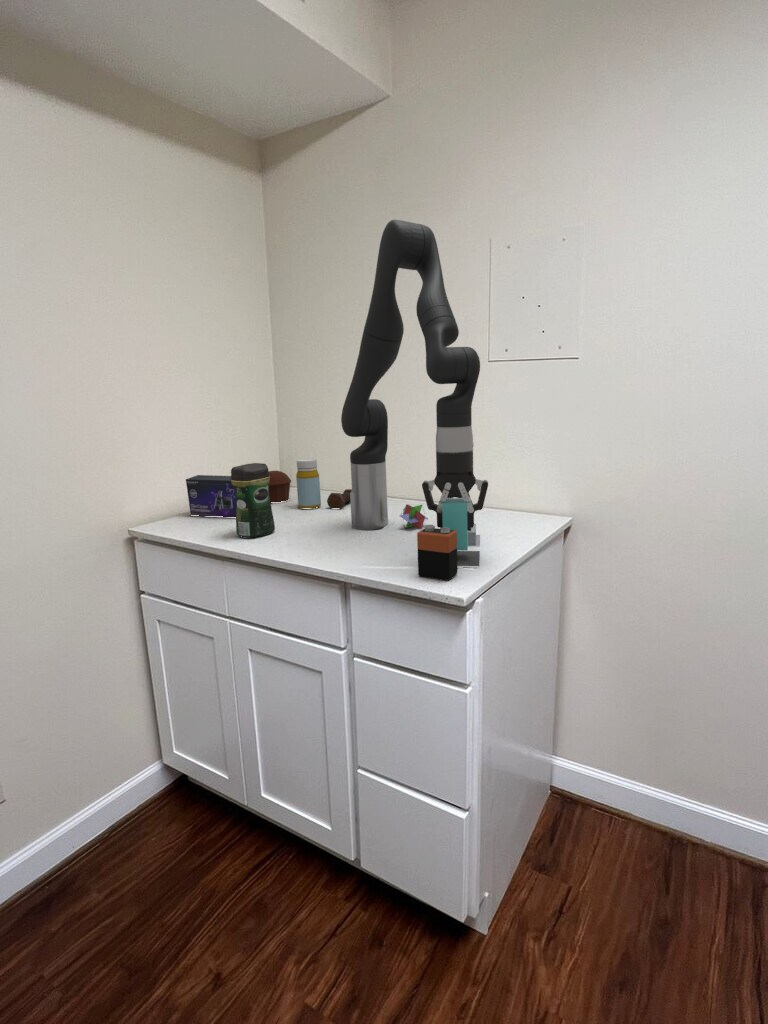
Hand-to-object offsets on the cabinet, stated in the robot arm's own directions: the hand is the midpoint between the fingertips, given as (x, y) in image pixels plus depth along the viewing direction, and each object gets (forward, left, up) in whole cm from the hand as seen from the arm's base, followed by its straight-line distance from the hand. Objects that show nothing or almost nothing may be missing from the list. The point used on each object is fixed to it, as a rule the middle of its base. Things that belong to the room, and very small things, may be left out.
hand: (455, 529), depth 121 cm
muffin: (-63, +62, -7) cm, 89 cm away
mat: (0, 0, -7) cm, 7 cm away
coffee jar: (-53, +20, -7) cm, 57 cm away
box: (-73, +41, -7) cm, 84 cm away
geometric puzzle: (-12, +26, -7) cm, 30 cm away
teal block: (0, 0, -4) cm, 4 cm away
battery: (-3, -10, -7) cm, 13 cm away
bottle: (-48, +52, -7) cm, 71 cm away
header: (0, +14, -7) cm, 16 cm away
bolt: (-38, +57, -7) cm, 68 cm away
